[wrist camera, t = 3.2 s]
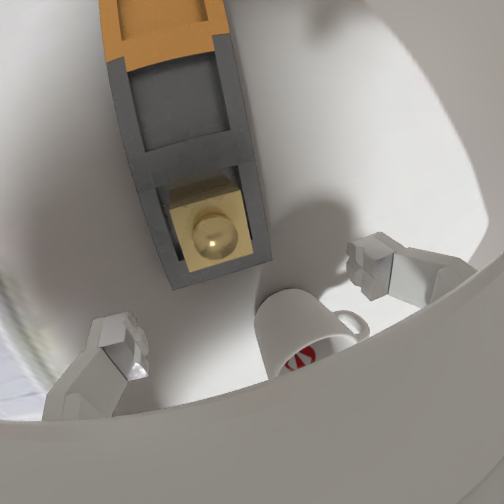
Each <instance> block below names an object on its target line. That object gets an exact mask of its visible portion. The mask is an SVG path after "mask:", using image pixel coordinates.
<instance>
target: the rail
mask: <svg viewBox="0 0 504 504" xmlns="http://www.w3.org/2000/svg"><path fill="white" fill-rule="evenodd" d="M99 9H100V20H101V29H102V38H103V45H104V52H105V59H106V63H107V69H108V75H109V81H110V86H111V91H112V96H113V101H114V106H115V110H116V115H117V119H118V123H119V127H120V132H121V136H122V140H123V144H124V147H125V151H126V155H127V159H128V162H129V166H130V169H131V173H132V176H133V180H134V183H135V186H136V189H137V193H138V196H139V199H140V202H141V205H142V208H143V211H144V214H145V217H146V220H147V223H148V226H149V229H150V232H151V235H152V238H153V240H154V243H155V246H156V249H157V251H158V254H159V257H160V259H161V262H162V265H163V267H164V270H165V272H166V275H167V277H168V280H169V282H170V285H171V287H172V290H176V289H180V288H183V287H186V286H190V285H193V284H196V283H200V282H203V281H206V280H210V279H213V278H216V277H220V276H223V275H226V274H229V273H233V272H236V271H239V270H242V269H246V268H249V267H252V266H255V265H259V264H262V263H265V262H268V261H271V260H272V255H271V249H270V243H269V237H268V231H267V225H266V219H265V214H264V208H263V202H262V196H261V191H260V185H259V180H258V174H257V169H256V163H255V158H254V152H253V147H252V142H251V136H250V131H249V126H248V121H247V115H246V110H245V105H244V100H243V95H242V90H241V85H240V80H239V75H238V70H237V65H236V61H235V56H234V51H233V46H232V42H231V37H230V30H229V26H228V21H227V16H226V12H225V7H224V3H223V0H99ZM221 175H225V176H226V177H227V178H228V179H229V180H230V181H231V182H232V183H233V184H234V185H235V186H237V187H238V188H239V189H240V190H241V195H242V200H243V205H244V210H245V215H246V220H247V225H248V229H249V234H250V239H251V244H252V249H253V253H252V254H249V255H246V256H242V257H239V258H236V259H232V260H229V261H226V262H222V263H219V264H216V265H213V266H209V267H206V268H203V269H199V270H196V271H193V272H189V269H188V267H187V264H186V261H185V258H184V255H183V252H182V249H181V246H180V243H179V240H178V237H177V234H176V230H175V227H174V224H173V221H172V218H171V214H170V211H169V196H170V190H171V189H174V188H178V187H181V186H184V185H188V184H191V183H195V182H199V181H202V180H206V179H210V178H213V177H217V176H221Z"/></svg>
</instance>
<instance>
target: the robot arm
mask: <svg viewBox="0 0 504 504" xmlns="http://www.w3.org/2000/svg"><path fill="white" fill-rule="evenodd" d="M346 253H347V254H348V256H349V259H348V261H347V263H346V271H347V274H348V277H349V279H350V280H351V282H352V283H353V284H354V285H356V286H359V287H361V292H362V293H363V294H364V295H365V296H366V297H367V298H368V299H369V300H370V301H373V300H375V299H378V298H380V297H382V296H385V295H387V294H388V295H390V296H392V297H395V298H397V299H400V300H402V301H404V302H407V303H409V304H412V305H414V306H417V307H419V308H421V309H420V310H419V311H417V312H415V313H414V314H412V315H410V316H409V317H407V318H405V319H403V320H401V321H400V322H398V323H396V324H394V325H392V326H390V327H389V328H387V329H385V330H383V331H381V332H379V333H377V334H375V335H373V336H371V337H369V338H367V339H365V340H363V341H361V342H359V343H357V344H355V345H353V346H351V347H349V348H346V349H344V350H342V351H340V352H338V353H335V354H333V355H331V356H328V357H326V358H324V359H321V360H319V361H317V362H314V363H312V364H309V365H307V366H304V367H302V368H299V369H297V370H294V371H291V372H289V373H286V374H283V375H281V376H278V377H275V378H272V379H269V380H266V381H263V382H261V383H257V384H254V385H251V386H248V387H245V388H242V389H239V390H235V391H232V392H228V393H225V394H221V395H218V396H214V397H210V398H207V399H203V400H199V401H195V402H191V403H186V404H182V405H177V406H173V407H168V408H163V409H158V410H152V411H147V412H141V413H135V414H128V415H121V416H114V417H111V416H112V414H113V412H114V410H115V408H116V406H117V404H118V402H119V400H120V398H121V396H122V394H123V392H124V390H125V388H126V386H127V385H128V383H129V382H128V381H131V380H136V379H140V378H144V377H148V376H149V361H148V360H147V358H146V356H147V354H148V353H149V346H148V341H147V338H146V335H145V333H144V331H143V329H142V328H141V327H139V326H137V325H136V317H135V316H134V314H133V312H132V311H130V310H128V311H124V312H120V313H117V314H113V315H109V316H106V317H101V318H97V319H94V320H93V321H92V325H91V328H90V332H89V337H88V341H87V345H86V350H85V351H83V352H81V353H80V355H79V356H78V357H77V358H76V359H75V360H74V362H73V363H72V364H71V365H70V367H69V368H68V369H67V370H66V371H65V373H64V374H63V375H62V376H61V378H60V379H59V380H58V381H57V383H56V384H55V385H54V386H53V388H52V389H51V390H50V391H49V393H48V394H47V396H46V401H45V406H44V411H43V416H42V421H10V420H0V504H504V251H503V252H502V253H501V254H500V255H498V256H497V257H496V258H495V259H494V260H492V261H491V262H490V263H488V264H487V265H486V266H484V267H483V268H482V269H480V270H479V271H477V270H476V269H474V268H473V267H472V266H470V265H469V264H467V263H466V262H465V261H463V260H462V259H460V258H457V257H453V256H448V255H444V254H439V253H434V252H430V251H425V250H420V249H415V248H410V247H408V248H405V247H404V246H402V245H401V244H399V243H398V242H396V241H395V240H393V239H392V238H390V237H389V236H387V235H386V234H384V233H383V232H377V233H374V234H371V235H369V236H367V237H364V238H361V239H358V240H356V241H353V242H350V243H348V245H347V251H346Z"/></svg>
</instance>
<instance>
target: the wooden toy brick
mask: <svg viewBox="0 0 504 504" xmlns="http://www.w3.org/2000/svg"><path fill="white" fill-rule="evenodd" d="M169 211H170V214H171V218H172V221H173V224H174V227H175V230H176V234H177V237H178V240H179V243H180V246H181V249H182V252H183V255H184V258H185V261H186V264H187V267H188V269H189V272H193V271H196V270H199V269H203V268H206V267H209V266H213V265H216V264H219V263H222V262H226V261H229V260H232V259H236V258H239V257H242V256H246V255H249V254H252V253H253V249H252V244H251V239H250V234H249V229H248V225H247V220H246V215H245V210H244V205H243V200H242V195H241V190H240V189H239V188H238V187H237V186H235V185H234V184H233V183H232V182H231V181H230V180H229V179H228V178H227V177H226V176H225V175H221V176H217V177H213V178H210V179H206V180H202V181H199V182H195V183H191V184H188V185H184V186H181V187H178V188H174V189H171V190H170V196H169Z"/></svg>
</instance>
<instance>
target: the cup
mask: <svg viewBox="0 0 504 504" xmlns="http://www.w3.org/2000/svg"><path fill="white" fill-rule="evenodd" d="M342 322H345V323H348V324H350V325H352V326H353V327H355V328H356V329H357V331H358V332H359V334H354V333H353V332H352V331H351V330H350V329H349V328H348V327H347V326H346V325H345V324H343V323H342ZM254 328H255V334H256V338H257V341H258V345H259V348H260V352H261V355H262V359H263V362H264V366H265V369H266V373H267V376H268V379H272V378H275V377H278V376H281V375H283V374H286V373H289V372H291V371H294V370H297V369H299V368H302V367H304V366H307V365H309V364H312V363H314V362H317V361H319V360H321V359H324V358H326V357H328V356H331V355H333V354H335V353H338V352H340V351H342V350H344V349H346V348H349V347H351V346H353V345H355V344H357V343H359V342H361V341H363V340H365V339H367V338H368V337H369V334H370V329H369V326H368V324H367V323H366V322H365V320H364V319H362V318H361V317H360V316H359V315H357V314H355V313H354V312H351V311H346V310H341V311H336V312H331V311H330V310H328V309H327V308H326V307H325V306H324V305H323V304H322V303H321V302H320V301H319V300H318V299H317V298H315V297H314V296H313V295H312V294H310V293H308V292H307V291H304V290H301V289H285V290H282V291H279V292H277V293H275V294H273V295H271V296H270V297H268V298H267V299H266V300H265V301H264V302H263V303H262V304H261V306H260V307H259V309H258V311H257V313H256V316H255V320H254Z"/></svg>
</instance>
